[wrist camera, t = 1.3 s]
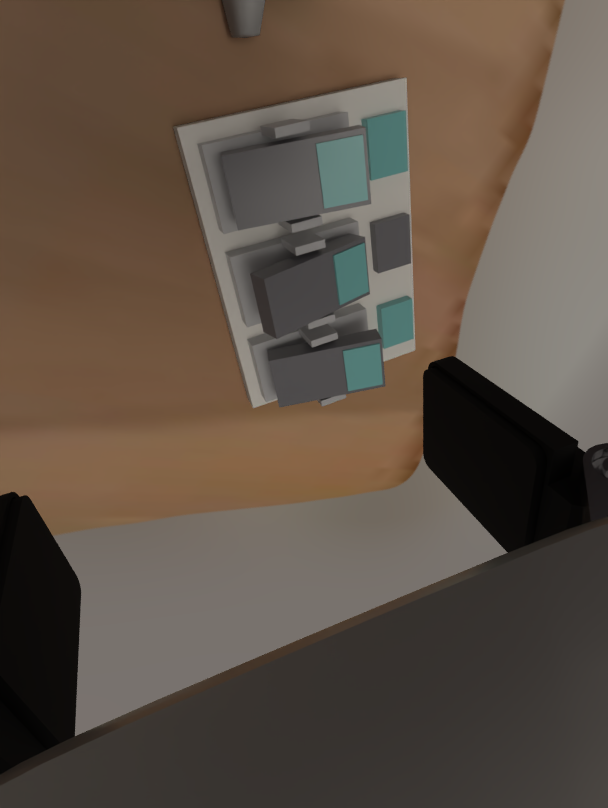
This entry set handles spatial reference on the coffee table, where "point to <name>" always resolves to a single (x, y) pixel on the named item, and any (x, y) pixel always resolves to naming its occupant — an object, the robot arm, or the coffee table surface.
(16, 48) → the coffee table surface
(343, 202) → the rocker nearest
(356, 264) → the rocker middle
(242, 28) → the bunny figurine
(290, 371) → the rocker
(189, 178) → the switch unit
